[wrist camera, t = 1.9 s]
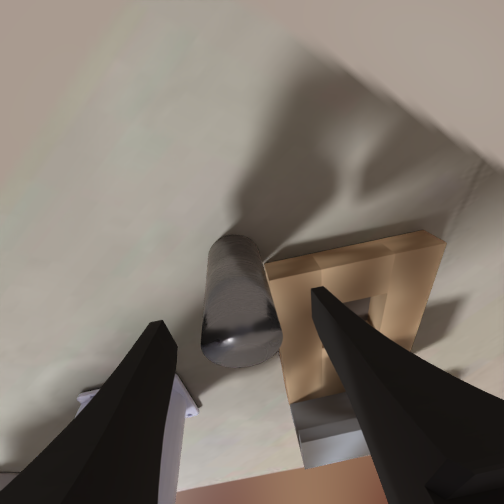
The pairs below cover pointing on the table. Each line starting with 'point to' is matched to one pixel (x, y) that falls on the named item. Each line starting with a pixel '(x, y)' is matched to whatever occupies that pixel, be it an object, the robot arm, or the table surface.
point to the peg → (238, 306)
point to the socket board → (361, 303)
